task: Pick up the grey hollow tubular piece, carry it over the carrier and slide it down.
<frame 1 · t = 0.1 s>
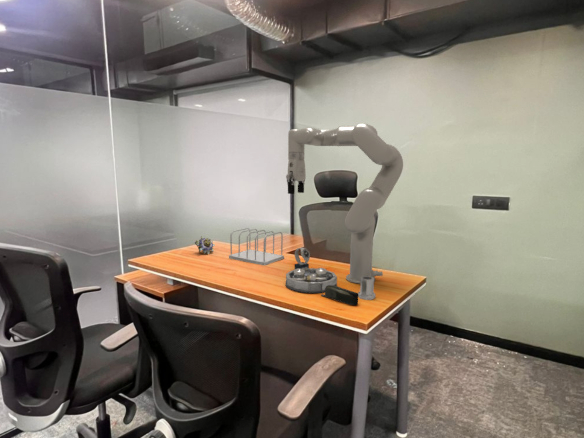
hand: (296, 193, 164), 37 cm above the table, tool pointing down, fingers open, 9 cm apart
ring gear: (311, 278, 146), point 3 cm above the table
watch: (301, 270, 168), on the table
file sorter: (256, 259, 190), on the table
passion flower: (204, 253, 202), on the table
carrier: (311, 284, 147), on the table
grey hollow tubular piece: (366, 296, 133), on the table
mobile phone: (339, 301, 129), on the table
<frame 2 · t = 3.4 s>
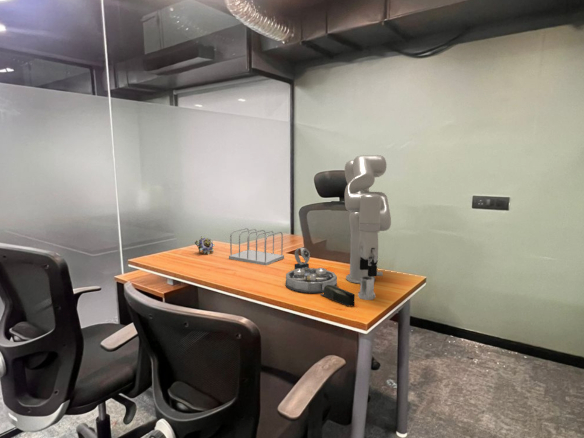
hand: (367, 272, 131), 10 cm above the table, tool pointing down, fingers open, 9 cm apart
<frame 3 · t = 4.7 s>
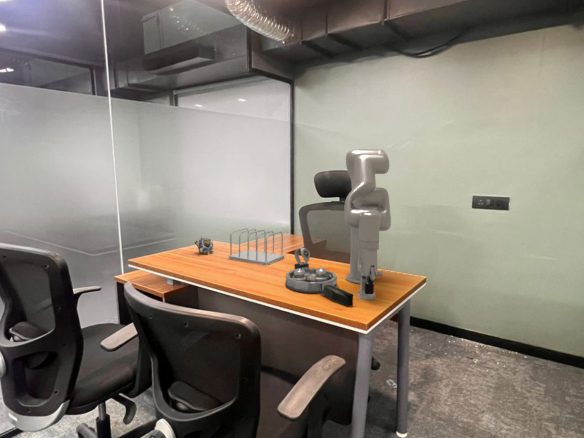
hand: (366, 290, 133), 2 cm above the table, tool pointing down, fingers closed on grey hollow tubular piece, 4 cm apart
grey hollow tubular piece: (366, 296, 133), on the table, touching gripper
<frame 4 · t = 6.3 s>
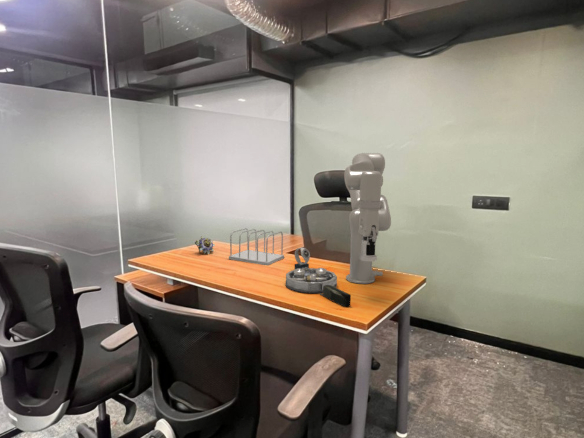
hand: (368, 253, 131), 17 cm above the table, tool pointing down, fingers closed on grey hollow tubular piece, 4 cm apart
grey hollow tubular piece: (367, 259, 131), point 15 cm above the table, touching gripper
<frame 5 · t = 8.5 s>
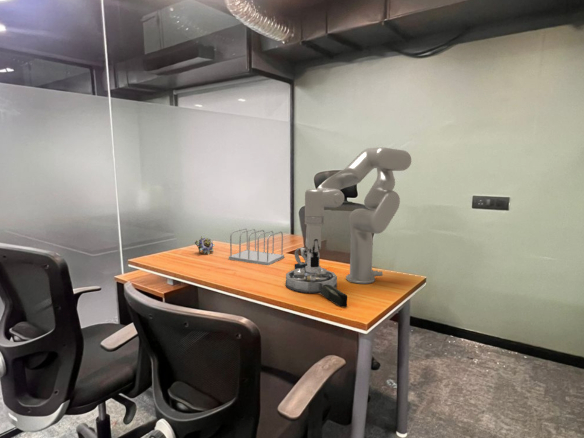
hand: (313, 264, 140), 10 cm above the table, tool pointing down, fingers closed on grey hollow tubular piece, 4 cm apart
grey hollow tubular piece: (313, 270, 140), point 8 cm above the table, touching gripper
when the fingers open (5 cm above the table, at t = 10.1 s): grey hollow tubular piece stays where it is, resting on carrier.
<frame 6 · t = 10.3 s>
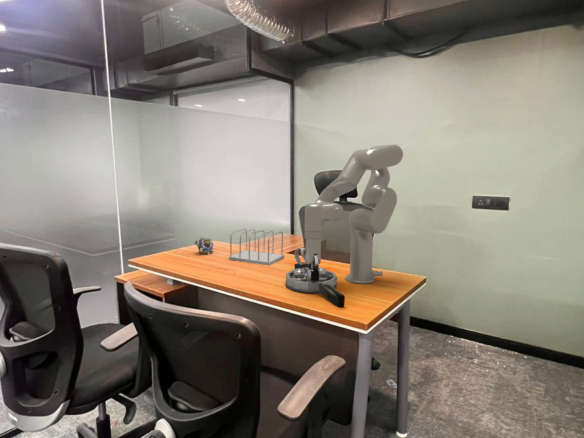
hand: (313, 277, 141), 5 cm above the table, tool pointing down, fingers open, 6 cm apart
grey hollow tubular piece: (313, 286, 141), point 1 cm above the table, touching carrier
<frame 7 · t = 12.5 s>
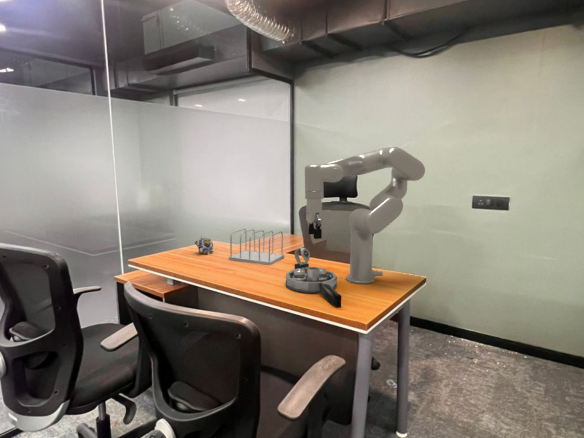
hand: (315, 236, 144), 21 cm above the table, tool pointing down, fingers open, 9 cm apart
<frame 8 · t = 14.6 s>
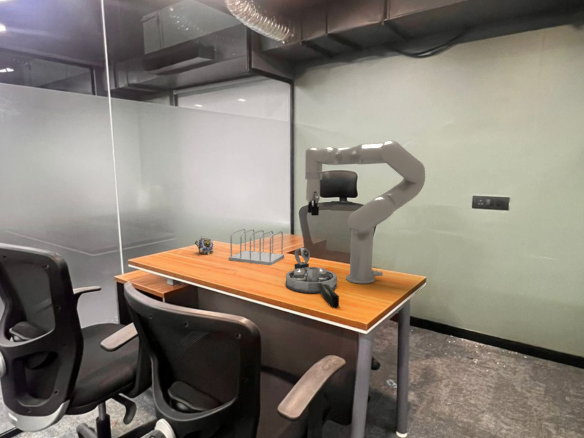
hand: (313, 214, 158), 28 cm above the table, tool pointing down, fingers open, 9 cm apart
at the end: grey hollow tubular piece 0.0 cm from the target spot on the carrier, point 1.2 cm above the carrier's base; grey hollow tubular piece tilted 0°; the gripper is holding nothing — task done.
